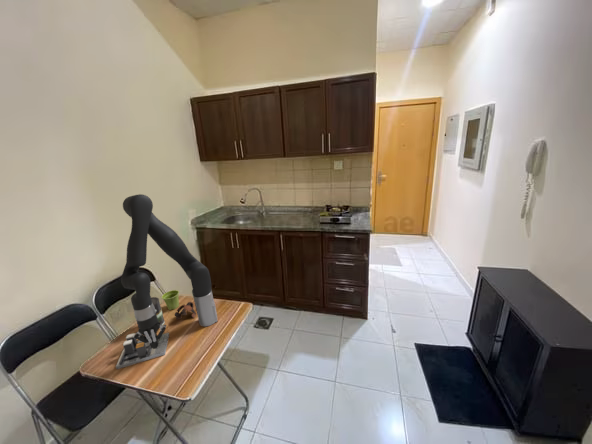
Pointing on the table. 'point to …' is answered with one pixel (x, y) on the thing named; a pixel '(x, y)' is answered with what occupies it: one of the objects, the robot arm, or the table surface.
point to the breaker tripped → (141, 349)
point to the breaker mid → (129, 346)
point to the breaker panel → (151, 353)
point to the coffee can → (158, 310)
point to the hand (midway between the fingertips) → (155, 347)
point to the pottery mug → (185, 307)
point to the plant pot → (171, 299)
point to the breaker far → (132, 338)
